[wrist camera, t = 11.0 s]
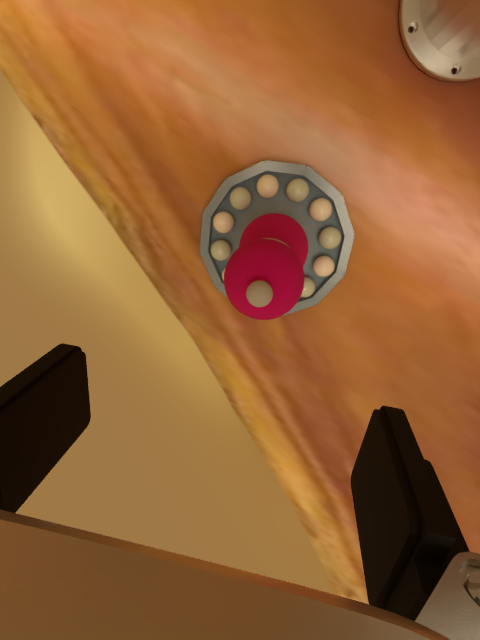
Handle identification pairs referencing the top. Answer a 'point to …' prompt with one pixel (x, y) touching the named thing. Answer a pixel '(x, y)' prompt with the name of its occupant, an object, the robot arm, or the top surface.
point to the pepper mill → (267, 267)
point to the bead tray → (289, 199)
